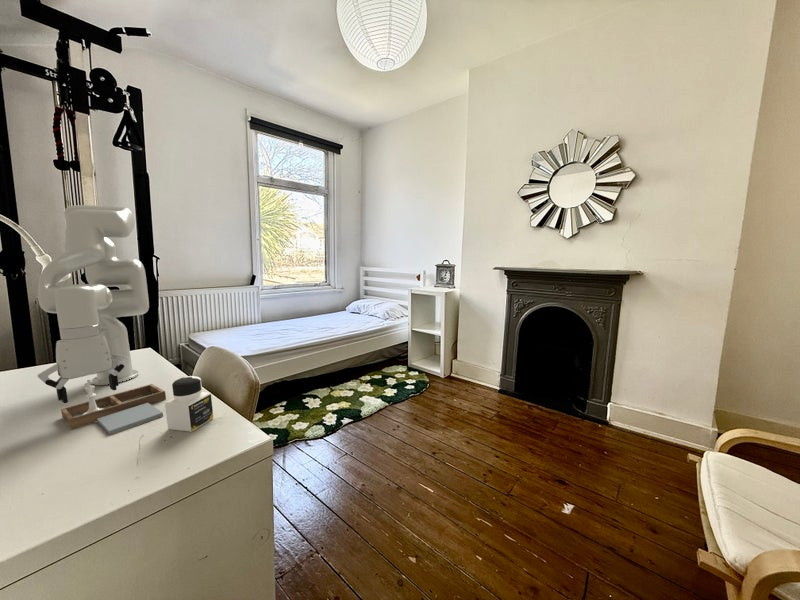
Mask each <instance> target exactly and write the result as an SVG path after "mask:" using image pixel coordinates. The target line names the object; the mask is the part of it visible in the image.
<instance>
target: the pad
mask: <svg viewBox="0 0 800 600" xmlns="http://www.w3.org/2000/svg"><path fill="white" fill-rule="evenodd" d="M162 417H164V412H163V411H161V410H160V409H158V408H157V407H155V406H153V404H149V403H145V404H142V405H138V406H135V407H132V408H129V409H126V410H122V411H119V412H116V413H113V414H110V415H106V416H103V417H100V418H97V421H96V422H97V424H98V425H99V426H100V427H101V428H102V429H104V431H105V432H106V433H107V434H108V435H109V436H111V435H113V434H116V433H119V432H122V431H125V430H128V429H130V428H133V427H137V426H139V425H142V424H144V423H147V422H151V421H153V420H156V419H160V418H162Z"/></svg>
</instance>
